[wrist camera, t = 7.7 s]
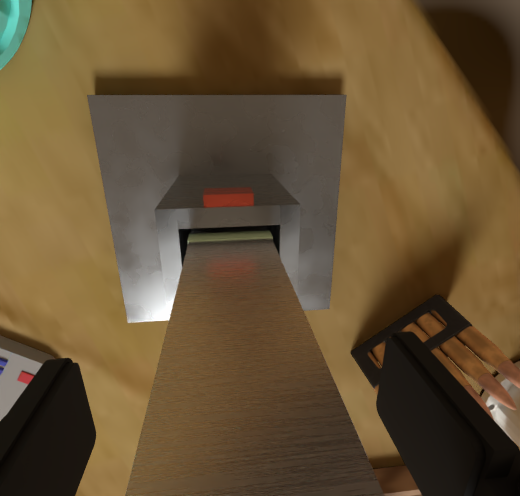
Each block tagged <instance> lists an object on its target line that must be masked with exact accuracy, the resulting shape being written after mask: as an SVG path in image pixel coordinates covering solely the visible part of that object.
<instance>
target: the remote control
mask: <svg viewBox="0 0 520 496" xmlns="http://www.w3.org/2000/svg"><path fill="white" fill-rule="evenodd" d="M50 359H55V358H54V357H53V356H52V355H50V354H47V353H45V352H42V351H39V350H37V349H34V348H32V347H29V346H26V345H24V344H21V343H19V342H16V341H13V340H11V339H8V338H6V337H3V336H0V420H2V419H3V417H4V416H6V415H7V413H8V412H9V410H10V409H11V408H12V406H13V405H14V403H15V402H16V401H17V399H18V398H19V397H20V395H21V394H22V392H23V391H24V390H25V388H26V387H27V385H28V384H29V383H30V381H31V380H32V378H33V377H34V376H35V374H36V373H37V372H38V370H39V369H40V367H41V366H42V365H43V363H44V362H45V361H46V360H50Z"/></svg>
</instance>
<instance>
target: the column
mask: <svg viewBox="0 0 520 496" xmlns="http://www.w3.org/2000/svg"><path fill="white" fill-rule="evenodd" d="M125 496H384V493H383V491H382V489H381V487H380V484H379V482H378V480H377V477H376V475H375V473H374V471H373V468H372V466H371V464H370V461H369V459H368V457H367V455H366V452H365V450H364V448H363V445H362V443H361V441H360V439H359V436H358V434H357V432H356V429H355V427H354V425H353V423H352V420H351V418H350V416H349V414H348V411H347V409H346V407H345V404H344V402H343V400H342V398H341V395H340V393H339V391H338V388H337V386H336V384H335V382H334V379H333V377H332V375H331V372H330V370H329V368H328V366H327V363H326V361H325V359H324V356H323V354H322V352H321V350H320V347H319V345H318V343H317V340H316V338H315V336H314V334H313V331H312V329H311V327H310V324H309V322H308V320H307V318H306V315H305V313H304V311H303V308H302V306H301V304H300V302H299V299H298V297H297V295H296V293H295V290H294V288H293V286H292V283H291V281H290V279H289V277H288V274H287V272H286V270H285V267H284V265H283V263H282V261H281V258H280V256H279V254H278V251H277V249H276V247H275V245H274V242H273V237H272V234H271V232H270V230H268V229H267V226H266V225H264V226H240V227H216V228H192V230H191V234H189V237H188V246H187V250H186V254H185V258H184V262H183V266H182V270H181V274H180V278H179V282H178V286H177V290H176V294H175V298H174V302H173V306H172V310H171V314H170V318H169V323H168V327H167V331H166V335H165V339H164V343H163V347H162V351H161V355H160V359H159V363H158V367H157V371H156V375H155V379H154V383H153V387H152V391H151V395H150V399H149V403H148V407H147V411H146V415H145V419H144V423H143V427H142V431H141V435H140V439H139V443H138V447H137V451H136V455H135V459H134V463H133V467H132V471H131V475H130V479H129V483H128V487H127V491H126V495H125Z"/></svg>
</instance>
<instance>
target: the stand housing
mask: <svg viewBox="0 0 520 496" xmlns="http://www.w3.org/2000/svg"><path fill="white" fill-rule="evenodd" d="M87 97H88V102H89V108H90V114H91V119H92V125H93V130H94V136H95V141H96V147H97V153H98V158H99V164H100V169H101V175H102V180H103V186H104V192H105V197H106V203H107V208H108V214H109V219H110V225H111V231H112V236H113V242H114V247H115V253H116V259H117V264H118V270H119V275H120V281H121V286H122V292H123V298H124V303H125V309H126V314H127V320H128V323H132V322H147V321H161V320H168V321H169V318H170V314H171V310H172V306H173V302H174V298H175V294H176V290H177V286H178V282H179V278H180V274H181V270H182V266H183V262H184V258H185V254H186V250H187V246H188V237H189V234H191V230H192V228H216V227H240V226H264V225H266V226H267V229H268V230H270V232H271V234H272V237H273V242H274V245H275V247H276V249H277V251H278V254H279V256H280V258H281V261H282V263H283V265H284V267H285V270H286V272H287V274H288V277H289V279H290V281H291V283H292V286H293V288H294V290H295V293H296V295H297V297H298V299H299V302H300V304H301V306H302V308H303V311H306V310H321V309H329V307H330V295H331V282H332V270H333V257H334V244H335V232H336V219H337V207H338V194H339V181H340V169H341V156H342V144H343V131H344V118H345V106H346V95H87Z"/></svg>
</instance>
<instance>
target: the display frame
mask: <svg viewBox="0 0 520 496" xmlns="http://www.w3.org/2000/svg"><path fill="white" fill-rule="evenodd" d="M373 471H374V473H375V475H376V477H377V480H378V482H379V484H380V487H381V489H382V491H383V493H384V496H422V494H421V492H420V491H419V489H418V487H417V485H416V483H415V481H414V479H413V478H412V476H411V474H410V472H409V470H408V468H407V466H406V465H403V466H395V467H387V468H379V469H373Z"/></svg>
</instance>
